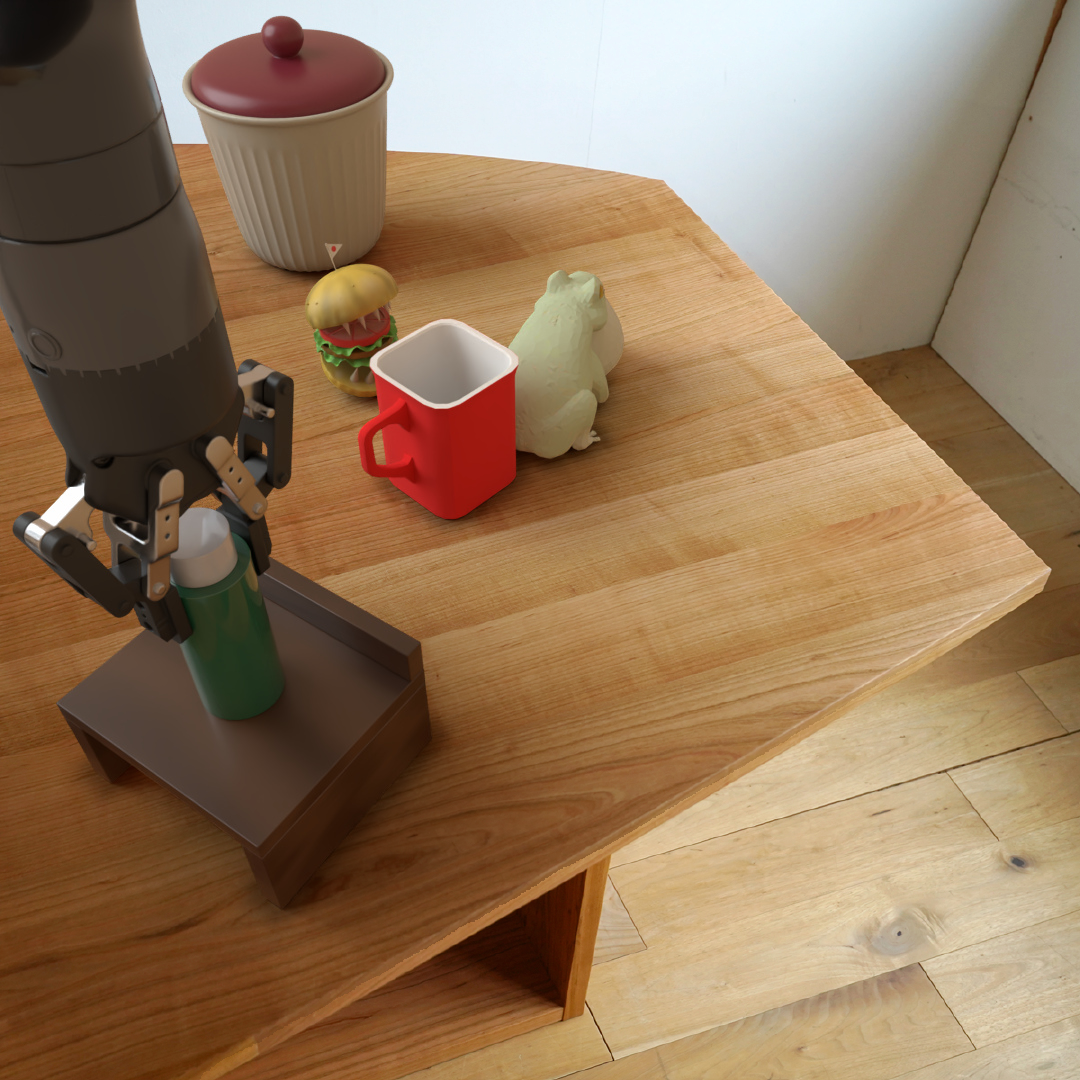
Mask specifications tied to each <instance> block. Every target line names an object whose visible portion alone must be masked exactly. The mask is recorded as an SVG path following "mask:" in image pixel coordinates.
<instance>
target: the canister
mask: <svg viewBox="0 0 1080 1080" xmlns="http://www.w3.org/2000/svg"><path fill="white" fill-rule="evenodd" d="M394 70H395V69H394V67H393V63H392V62H391V61H390V59H389V58H388V57H387V56H386V55H385V54H384V53H382V52H381V51H379V50H378V49H376V48H374V47H372V46H371V45H368V44H366V43H364V42H362V41H360V40H359V39H357V38H354V37H352V36H349V35H346V34H342V33H338V32H333V31H328V30H321V29H314V28H313V29H312V28H311V29H310V28H303V26H302V25H301V24H300V23H299V21H297V20H296V19H294V18H293V17H291V16H288V15H275V16H273V17H270V18H268V19H267V20H266V21H264V23H263V25H262V27H261V30H260V32H255V33H254V32H253V33H250V34H247V35H242V36H240V37H235V38H233V39H231V40H229V41H226V42H224V43H221V44H219V45H217V46H215V47H214V48H212V49H210V50H209V51H208V52H207V53H205V54H204V55H203V56H202V57H201V58H200V59H198V60H196V62H194V63H193V64H192V65H191V66H190V67H189V68H188V69H187V71H185V74H184V75H183V78H182V82H181V88H182V93H183V94H184V96H185V98H186V99H187V101H188V103H190V104H191V106H193V107H194V108H195V109H196V112H197V115H198V118H199V121H200V125H201V127H202V131H203V133H204V136H205V139H206V141H207V144H208V148H209V150H210V153H211V155H212V156H211V157H212V159H213V162H214V165H215V168H216V170H217V171H216V172H217V173H218V176H219V179H220V182H221V185H222V188H223V190H224V194H225V197H226V199H227V202H228V204H229V207H230V209H231V212H232V215H233V217H234V220H235V223H236V225H237V228H238V230H239V232H240V234H241V236H242V238H243V240H244V242H245V243H246V245H247V246H248V248H249V250H251V251H252V252H253V254H254V255H256V257H258V258H260V259H261V260H262V261H263V262H265V263H267V264H270V265H271V266H272V267H278V268H279V269H281V270H288V271H291V272H292V271H296V272H300V273H301V272H308V273H311V272H318V273H319V272H322V271H330V270H332V269H335V268H336V269H339V268H341V267H346V266H348V264H352V263H355V262H357V260H360V259H362V258H363V257H364V256H365V255H367V254H369V252H370V251H371V249H373V248H374V247H375V246H376V244H377V242H378V241H379V239H380V237H381V234H382V232H383V228H384V224H385V217H386V216H385V215H386V197H387V164H388V162H387V161H388V159H387V157H388V154H387V153H388V151H387V149H388V91H389V90H390V88H391V87H392V85H393V83H394V77H395V72H394ZM326 243H327V244H343V245H342V246H341V248H340V249H339V250H338V252H337V253H336V254H335V256H334V257H333V262H334V265H335V267H334V265H333V262H332V260H331V257H330V255H329V253H328V250H327V248H326V245H325V244H326Z"/></svg>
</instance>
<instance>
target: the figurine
mask: <svg viewBox="0 0 1080 1080" xmlns="http://www.w3.org/2000/svg"><path fill="white" fill-rule="evenodd" d="M605 293H606V292H605V287H604V284H603V281H602V280H601V279H600V277H598V276H597V275H596V274H594V273H592V272H589V271H583V270H577V271H573V273H571V274H569V275H568V273H567V271H566V270H564V269H559V270H556V271H554V272H553V273H551V274H550V275H549V277H548V279H547V281H546V290H545V293H544V294H542V296H541V297H540V298H538V299H537V301H536V302H535V303H534V306H533V310H534V311H533V312H532V313H531V314H530V315H529V316H528V317H527V319H526V320H525V322H524V323H523V324H522V326H521V327H520V329H519V331H518V332H517V333H516V334H515V336H514V338H513V340H512V341H511V342H510V344H508V347H507V348H508V349H510V350H512V351H513V352H514V353H515V354H516V355H517V356H518V362H519V365H518V368H517V371H516V374H515V425H516V451H520V452H526V453H531V454H534V455H536V456H538V457H539V458H545V459H549V460H550V459H551V460H552V459H554V458H556V457H559V456H563V455H564V454H565V453H567V452H568V451H569V450H570V449H571V447H572V449H574V450H577V451H581V450H586V449H587V448H588V447H590V446H591V444H593V443H595V442H600V441H601V437H600V436H597V431H596V430H592V426H593V424H594V422H595V418H596V414H597V409H598V404H601V403H602V404H603V403H605V402H606V401H607V400H608V398H609V397H610V393H609V392H610V391H609V386H608V381H607V377H606V376H607V375H608V374H609V373H610V372H611V371H612V370H613V369H614V368H615V367H616V366H618V364H619V362H620V359H621V358H622V355H623V353H624V345H625V344H624V343H625V336H624V331H623V326H622V323H621V321H620V318H619V316H618V314H617V312H616V311H615V309H614V307H613V306H612V304H611V302H610V301H609V299H608V298H607V297H606V294H605Z"/></svg>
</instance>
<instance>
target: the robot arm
mask: <svg viewBox="0 0 1080 1080" xmlns="http://www.w3.org/2000/svg"><path fill="white" fill-rule="evenodd" d="M161 96H162V95H161V94H160V90H159V88H158V83H157V80H156V77H155V74H154V71H153V68H152V66H151V62H150V60H149V56H148V53H147V49H146V45H145V41H144V37H143V33H142V27H141V23H140V17H139V10H138V4H137V0H0V310H1V313H2V314H3V317H4V319H5V322H6V324H7V326H8V328H9V331H10V333H11V335H12V338H13V341H14V343H15V346H16V348H17V351H18V352H19V354H20V357H21V360H22V361H23V364H24V366H25V368H26V371H27V373H28V376H29V378H30V381H31V382H32V385H33V388H34V389H35V392H36V394H37V397H38V399H39V402H40V403H41V406H42V408H43V410H44V413H45V416H46V418H47V420H48V423H49V425H50V427H51V428H52V430H53V432H54V434H55V436H56V437H57V439H58V441H59V442H60V444H61V446H62V448H63V450H64V453H65V458H66V459H65V471H64V482H65V485H66V488H67V489H65V491H64V492H63V493H62V494H61V495H60V496H59V497H58V498H57V499H56V500H55V501H54V502H53V503H52V504H51V505H50V507H48V508H47V510H46V511H45V512H44V513H43V514H42V515H40V514H39V513H37V512H35V511H31V510H29V511H25V512H22V513H21V514H20V515H18V516H17V517H16V519H15V520H14V522H13V524H12V533H13V536H14V537H16V539H18V540H19V541H20V542H21V543H22V544H23V545H24V546H25V547H26V548H28V550H29V551H31V552H32V553H33V554H34V555H35V556H37V558H39V559H40V560H41V561H42V562H43V563H44V564H45V565H47V567H49V568H50V569H51V570H52V571H53V572H54V573H55V574H57V575H58V576H59V578H61V579H62V580H63V581H64V582H65V583H67V584H68V585H69V587H71V589H73V590H74V591H75V592H76V593H78V594H79V595H81V596H82V597H84V598H86V599H89V600H91V602H94V603H95V604H97V605H98V606H100V607H101V608H102V609H104V610H105V611H106V612H107V613H109V614H110V615H112V616H113V617H114V618H117V619H121V618H124V617H126V616H127V615H129V614H130V613H131V612H132V611H133V610H134V612H135V615H136V618H137V620H138V622H139V624H140V626H141V627H143V628H144V629H147V630H149V631H150V632H152V633H153V634H155V635H157V636H158V637H160V638H161V639H163V640H164V641H166V642H168V641H170V640H171V639H172V640H174V641H176V642H177V643H179V644H182V643H183V642H184V641H185V640H187V639H188V638H189V637H190V636H191V635H192V634H193V631H192V628H191V626H190V623H189V620H188V617H187V615H186V612H185V609H184V607H183V604H182V601H181V598H180V596H179V593H178V590H177V588H176V587H175V586H174V585H172V584H171V583H170V573H171V554H173V553H175V552H177V551H178V548H179V518H180V517H181V516H182V515H183V514H184V513H185V512H186V511H187V510H188V509H189V508H191V507H192V506H193V505H194V504H195V503H196V502H198V501H200V500H203V499H205V498H207V497H209V496H210V495H211V496H212V497H213V498H214V500H216V501H217V502H219V503H221V505H220V506H218V507H217V508H215V510H216V511H218V512H220V513H221V514H223V515H224V516H225V517H226V519H227V520H228V522H229V526H230V529H231V532H234V533H235V534H237V535H239V536H240V537H242V538H243V539H244V540H245V541H246V543H247V544H248V546H249V548H250V552H251V555H252V559H253V562H254V566H255V569H256V573H257V576H260V575H262V574H263V573H264V572H265V571H266V570H267V569H269V568H270V562H269V558H268V556H269V557H270V555H271V554H272V549H273V542H272V539H271V535H270V531H269V528H268V524H267V523H268V522H267V519H266V512H267V510H268V505H269V502H268V500H267V498H268V496H269V495H270V494H271V492H272V491H273V490H274V489H276V490H282V489H284V488H285V487H287V486H288V484H289V483H290V481H291V478H292V469H293V468H292V465H293V464H292V463H293V437H294V436H293V432H294V399H295V381H294V379H293V378H292V377H291V376H288V375H286V374H284V373H282V372H281V371H278V370H275V369H274V368H272V367H269V366H267V365H265V364H263V363H261V362H259V361H257V360H254V359H253V358H246V359H245V360H243V361H242V362H241V363H240V365H239V367H238V369H237V366H236V362H235V359H234V355H233V350H232V346H231V343H230V342H231V341H230V338H229V334H228V330H227V326H226V323H225V318H224V313H223V310H222V306H221V302H220V298H219V294H218V290H217V286H216V281H215V278H214V274H213V270H212V265H211V262H210V258H209V254H208V253H209V252H208V249H207V246H206V243H205V239H204V235H203V232H202V229H201V227H200V224H199V220H198V219H197V215H196V213H195V210H194V208H193V206H192V204H191V202H190V199H189V197H188V194H187V192H186V191H187V190H186V189H185V185H184V182H183V178H182V176H181V171H180V168H179V163H178V159H177V156H176V155H177V154H176V151H175V147H174V143H173V140H172V135H171V132H170V128H169V123H168V120H167V115H166V112H165V107H164V104H163V101H162V97H161ZM236 438H237V440H236ZM235 441H237V442H236V444H237V445H236V446H237V447H236V449H237V454H236V453H235V452H236V450H235V449H234V445H235ZM263 444H264V445H265V447H266V454H264V453H263ZM94 510H96V511H97V510H98V511H100V512H102V528H103V531H104V532H105V534H106V536H107V537H108V538H109V540H110V555H111V556H110V558H111V567H109V568H108V567H106V565H105V564H104V563H102V562H101V561H100V560H99V559H98V557H96V556H95V554H93V552H94V551H95V550H96V549H97V547H98V542H97V541H96V540H95V539H94V532H93V529H92V527H91V526H90V518H91V515H92V514H93V512H94Z"/></svg>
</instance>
